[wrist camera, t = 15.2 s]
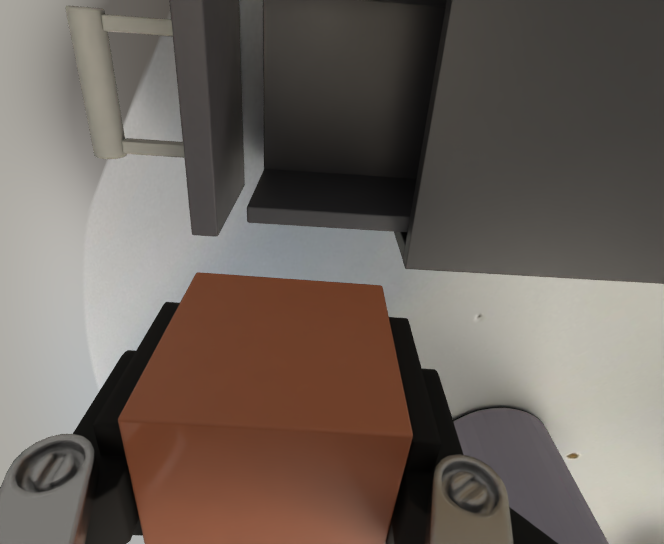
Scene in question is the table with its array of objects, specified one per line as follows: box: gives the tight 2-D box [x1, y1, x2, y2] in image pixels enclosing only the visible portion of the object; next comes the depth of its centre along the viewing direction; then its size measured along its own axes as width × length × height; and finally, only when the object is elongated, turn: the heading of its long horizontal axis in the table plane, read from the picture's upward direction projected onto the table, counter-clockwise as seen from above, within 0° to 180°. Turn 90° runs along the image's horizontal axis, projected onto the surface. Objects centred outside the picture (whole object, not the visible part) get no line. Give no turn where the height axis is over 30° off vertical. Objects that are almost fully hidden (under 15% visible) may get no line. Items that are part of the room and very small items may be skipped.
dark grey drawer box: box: [394, 0, 664, 284], centre depth 21 cm, size 15×13×9 cm
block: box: [118, 273, 413, 544], centre depth 10 cm, size 5×5×5 cm
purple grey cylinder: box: [454, 408, 609, 544], centre depth 33 cm, size 10×10×15 cm
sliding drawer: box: [66, 0, 447, 236], centre depth 20 cm, size 18×11×7 cm, turn 86°
